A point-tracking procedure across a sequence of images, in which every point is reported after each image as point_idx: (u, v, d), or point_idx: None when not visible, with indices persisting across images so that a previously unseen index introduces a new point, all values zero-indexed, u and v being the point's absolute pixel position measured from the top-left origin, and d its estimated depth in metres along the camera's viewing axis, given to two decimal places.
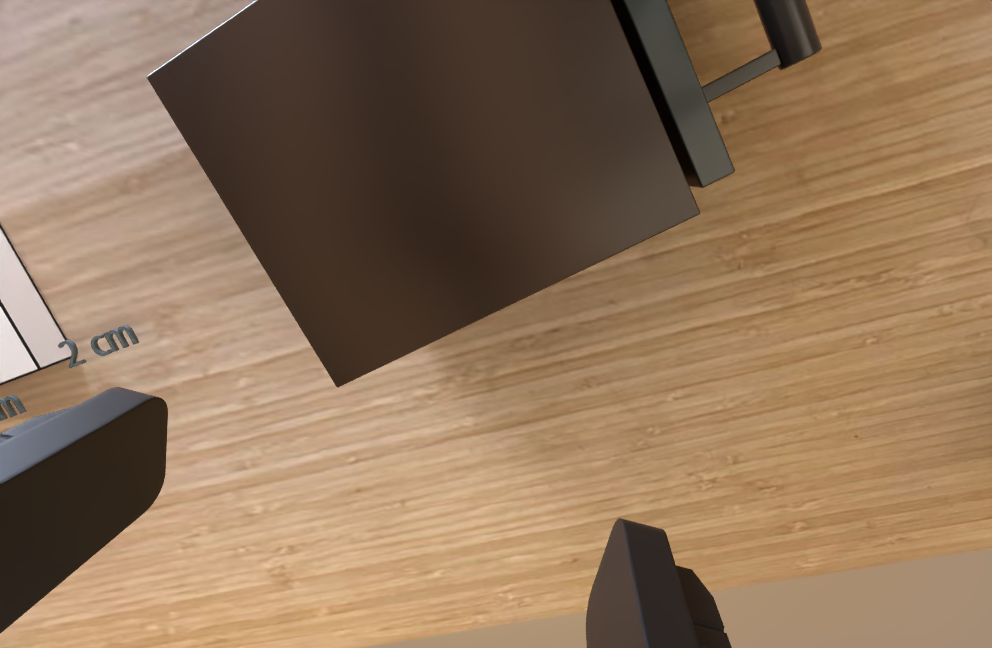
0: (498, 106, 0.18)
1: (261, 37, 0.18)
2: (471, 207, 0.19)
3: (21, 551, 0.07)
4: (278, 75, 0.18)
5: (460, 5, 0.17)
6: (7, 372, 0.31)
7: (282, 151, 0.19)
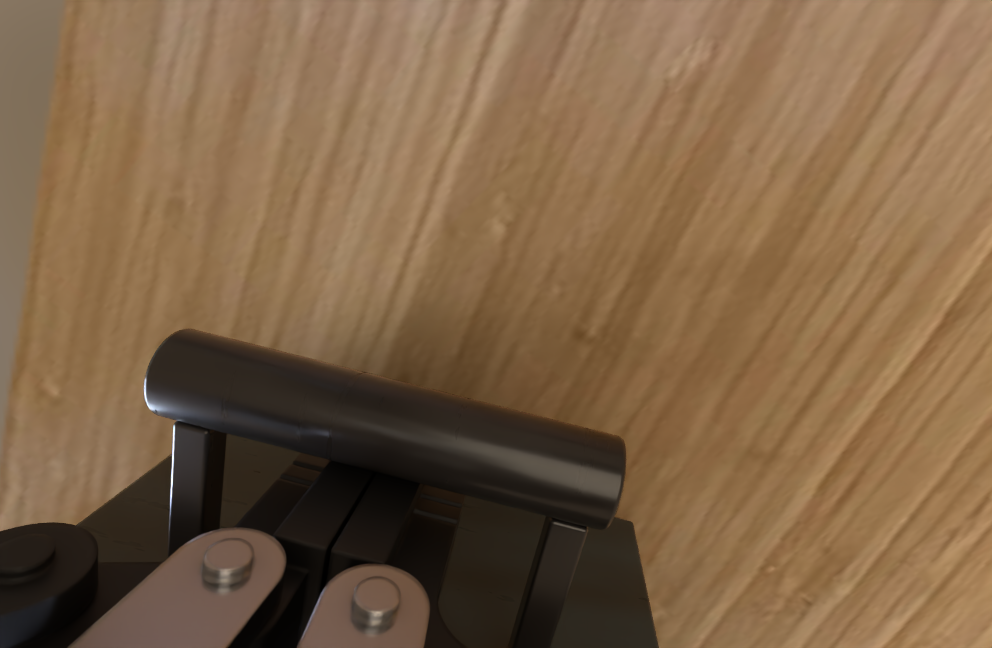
0: None
1: None
2: None
3: None
4: None
5: None
6: None
7: None
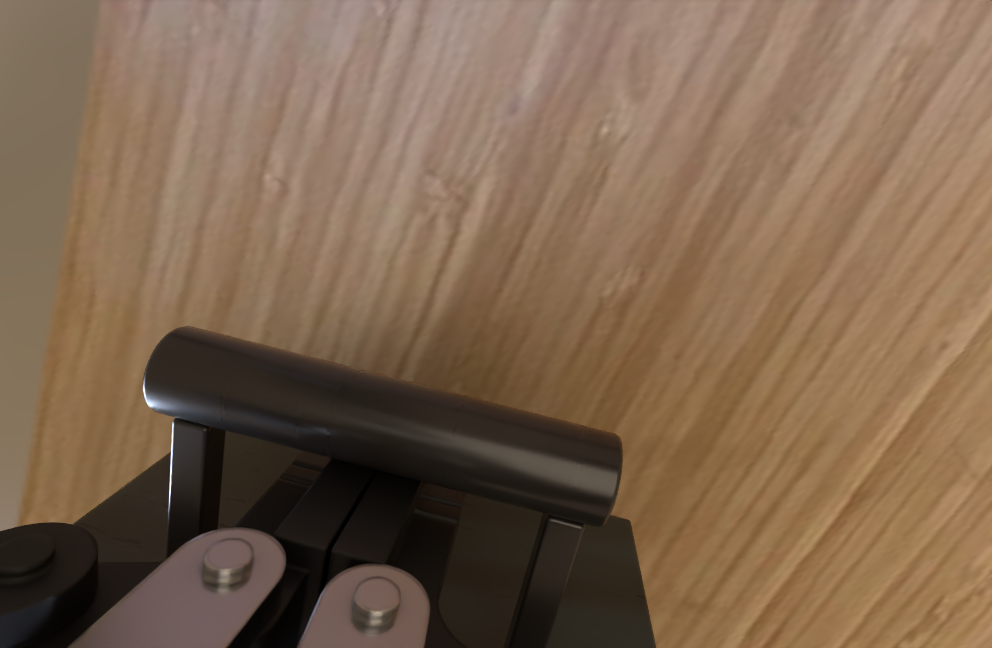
0: None
1: None
2: None
3: None
4: None
5: None
6: None
7: None
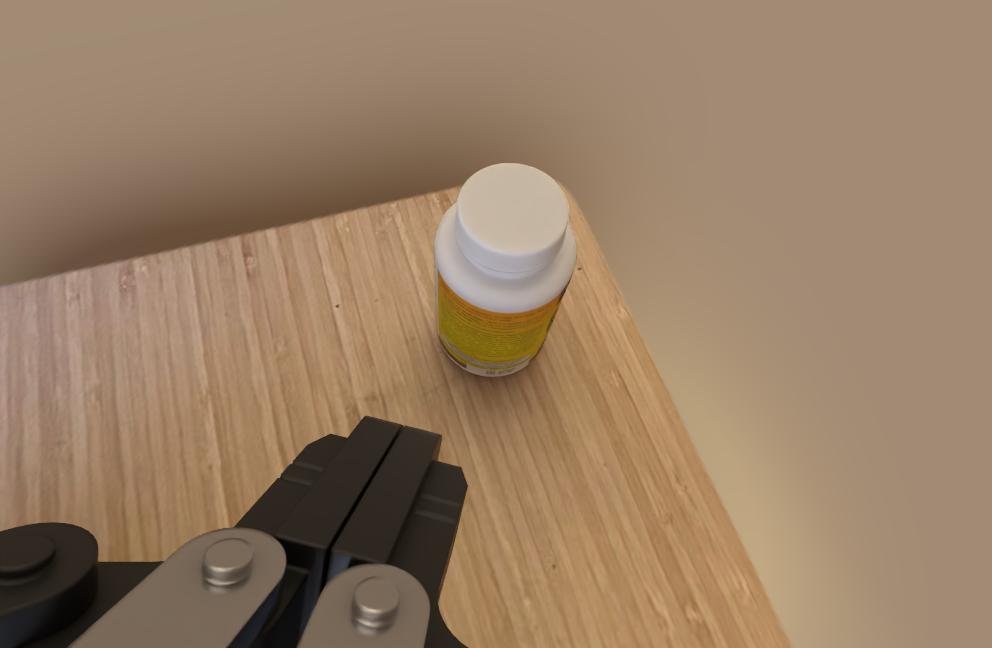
0: None
1: None
2: None
3: None
4: None
5: None
6: None
7: None
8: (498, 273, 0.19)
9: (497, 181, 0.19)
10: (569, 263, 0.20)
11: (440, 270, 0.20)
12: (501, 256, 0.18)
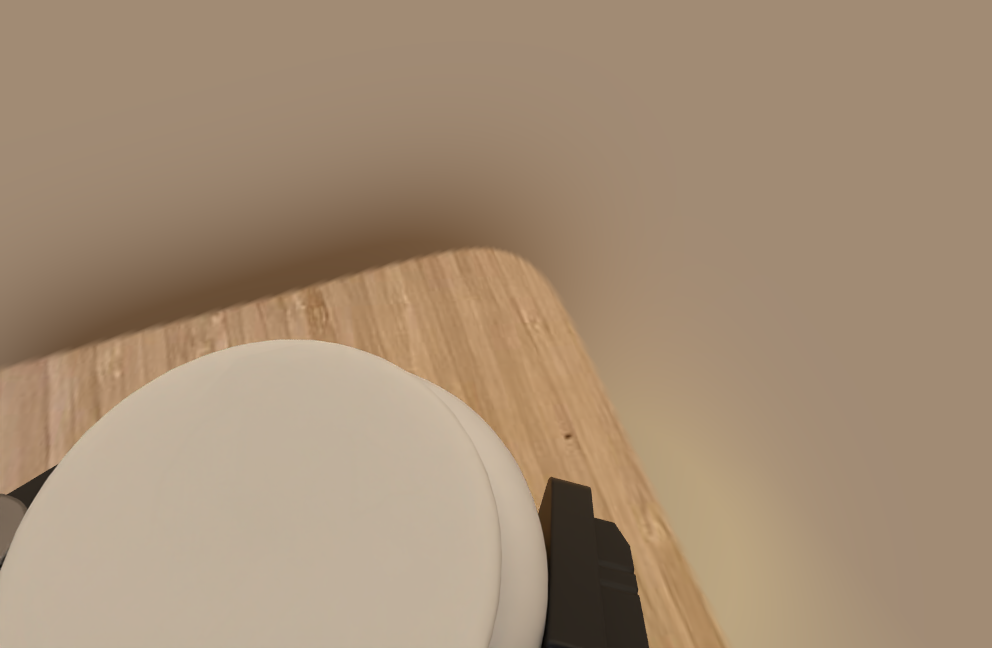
0: None
1: None
2: None
3: None
4: None
5: None
6: None
7: None
8: None
9: (212, 428, 0.05)
10: None
11: None
12: None
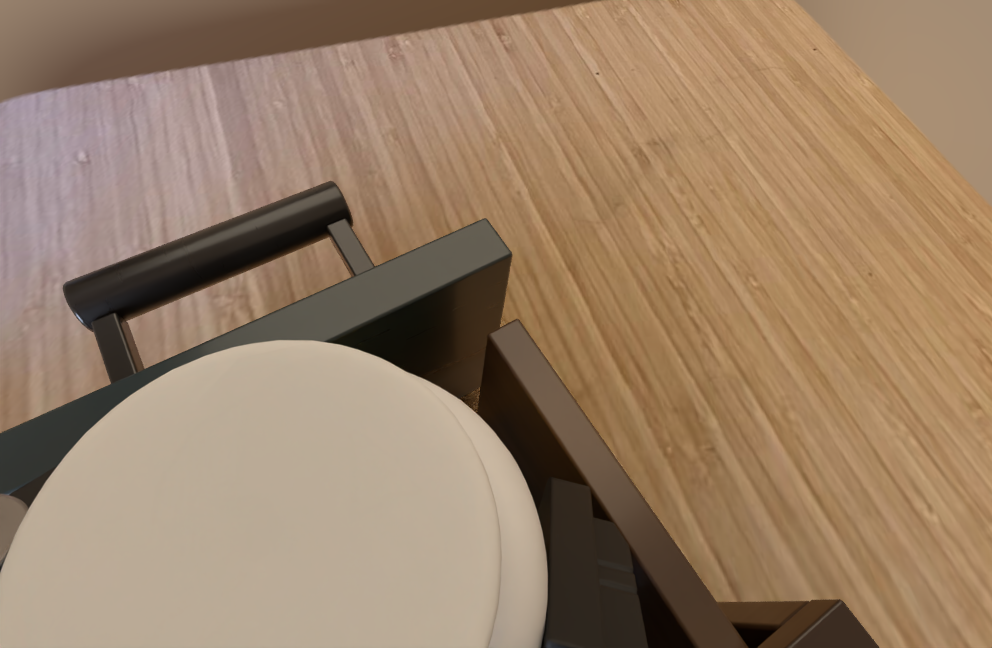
0: None
1: None
2: None
3: None
4: None
5: None
6: None
7: None
8: None
9: (212, 428, 0.05)
10: None
11: None
12: None
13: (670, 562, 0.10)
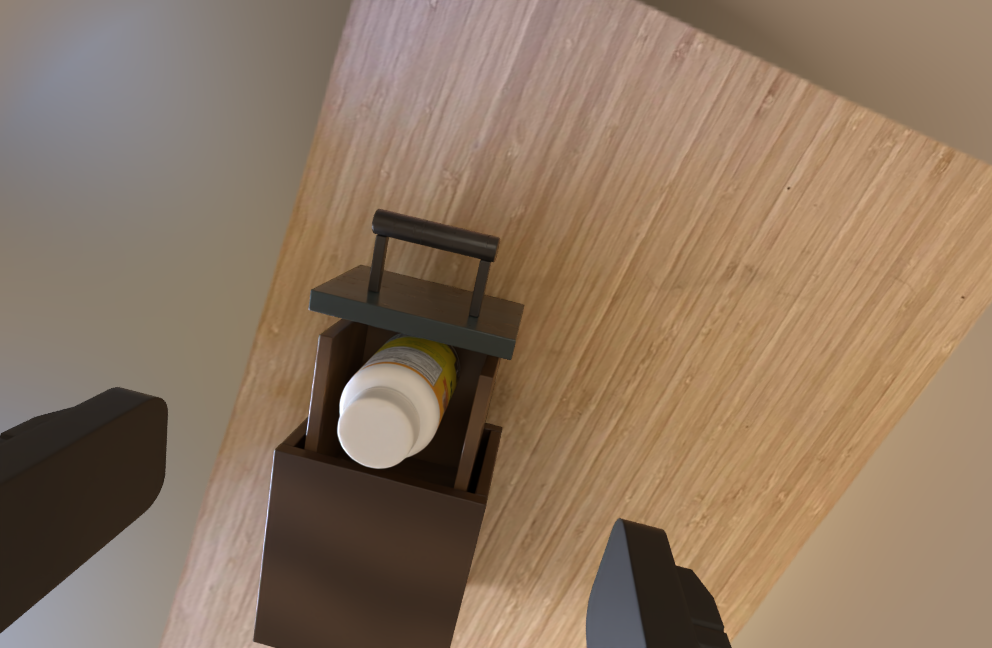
0: (372, 540, 0.32)
1: (273, 593, 0.34)
2: (404, 581, 0.33)
3: (22, 550, 0.07)
4: (292, 601, 0.34)
5: (321, 523, 0.32)
6: None
7: (321, 624, 0.34)
8: None
9: (378, 414, 0.27)
10: (407, 455, 0.30)
11: (341, 397, 0.30)
12: (346, 450, 0.28)
13: (468, 461, 0.31)
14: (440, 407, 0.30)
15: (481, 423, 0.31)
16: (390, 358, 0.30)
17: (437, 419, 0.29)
